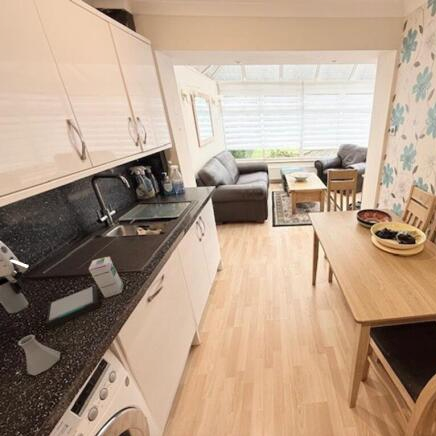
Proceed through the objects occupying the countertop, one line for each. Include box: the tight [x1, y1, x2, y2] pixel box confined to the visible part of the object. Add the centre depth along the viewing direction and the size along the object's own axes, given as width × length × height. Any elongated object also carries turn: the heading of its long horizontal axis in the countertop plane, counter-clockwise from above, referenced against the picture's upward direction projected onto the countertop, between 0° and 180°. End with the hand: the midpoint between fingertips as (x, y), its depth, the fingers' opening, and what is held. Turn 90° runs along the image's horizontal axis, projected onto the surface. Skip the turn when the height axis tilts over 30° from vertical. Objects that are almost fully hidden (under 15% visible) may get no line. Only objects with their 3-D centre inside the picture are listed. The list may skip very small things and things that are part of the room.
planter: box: [0, 277, 29, 314], centre depth 72 cm, size 4×4×10 cm
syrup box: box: [88, 255, 124, 299], centre depth 92 cm, size 6×6×14 cm
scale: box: [45, 285, 100, 330], centre depth 88 cm, size 14×12×3 cm
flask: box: [17, 334, 61, 376], centre depth 67 cm, size 7×7×10 cm
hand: (8, 293), depth 72 cm, fingers closed on planter, 4 cm apart
